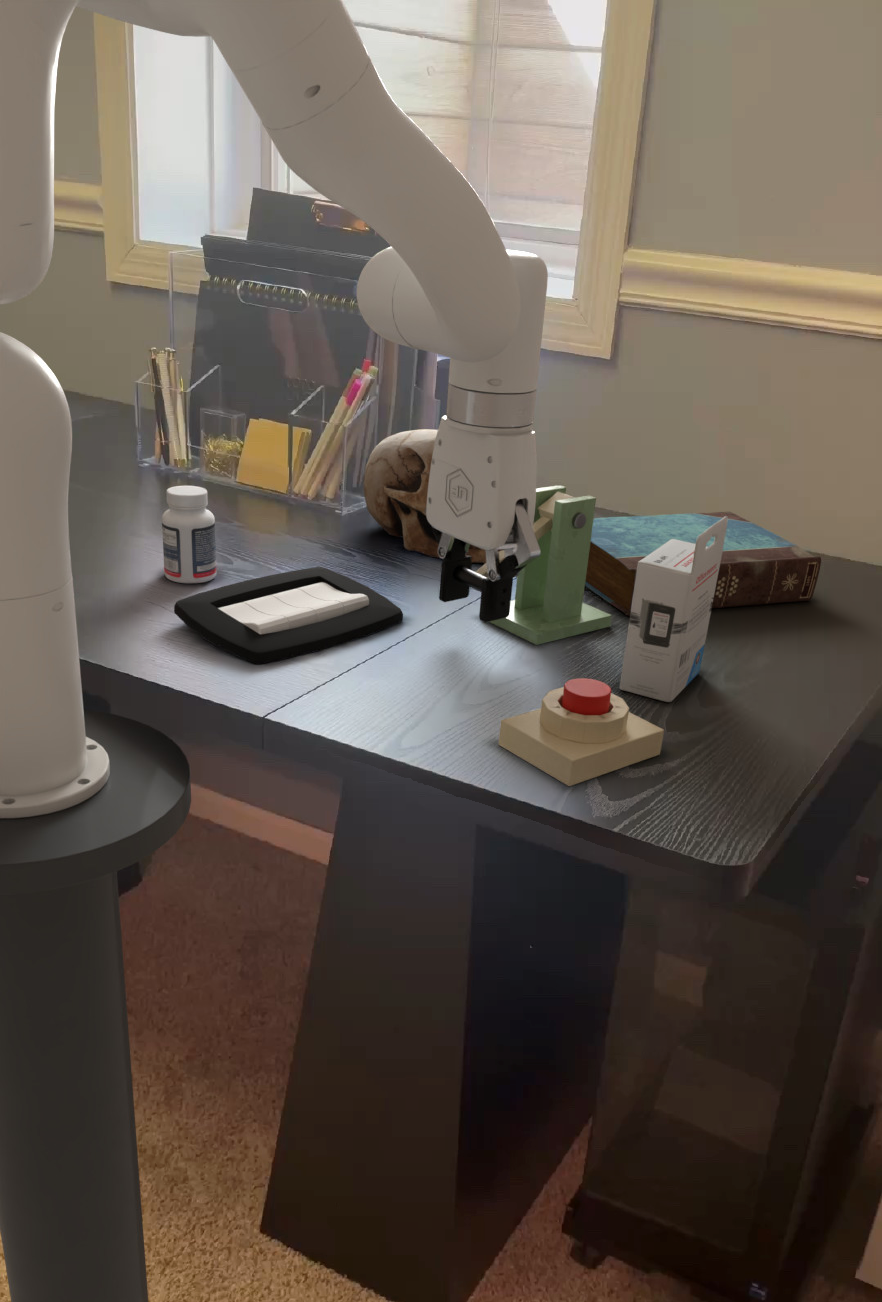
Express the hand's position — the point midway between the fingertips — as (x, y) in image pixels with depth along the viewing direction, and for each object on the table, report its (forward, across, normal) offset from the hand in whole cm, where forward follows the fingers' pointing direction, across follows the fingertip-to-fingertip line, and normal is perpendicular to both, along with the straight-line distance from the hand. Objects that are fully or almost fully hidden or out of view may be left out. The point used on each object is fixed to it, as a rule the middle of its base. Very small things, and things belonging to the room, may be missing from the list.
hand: (473, 606), depth 111 cm
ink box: (+4, +16, +9) cm, 19 cm away
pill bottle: (+4, -28, -14) cm, 32 cm away
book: (+4, -2, +32) cm, 32 cm away
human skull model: (+4, -26, +17) cm, 31 cm away
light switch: (+4, -12, -12) cm, 18 cm away
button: (0, +22, -7) cm, 23 cm away
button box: (+3, +22, -7) cm, 23 cm away
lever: (-4, 0, +6) cm, 7 cm away
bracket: (+3, 0, +10) cm, 10 cm away
